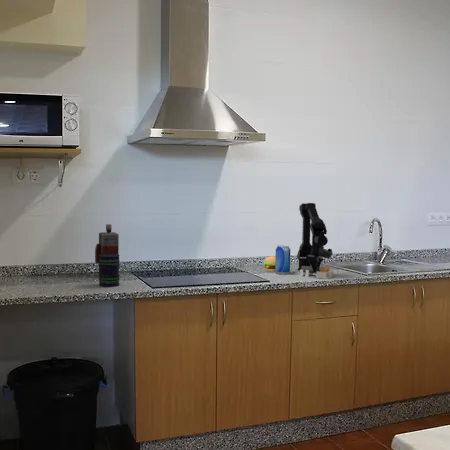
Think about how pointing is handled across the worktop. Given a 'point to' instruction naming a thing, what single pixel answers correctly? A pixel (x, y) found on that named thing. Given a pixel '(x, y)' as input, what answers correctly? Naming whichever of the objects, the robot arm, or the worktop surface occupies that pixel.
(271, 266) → the hamburger
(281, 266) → the beer can
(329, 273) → the cream arch-shaped block
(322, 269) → the stamp-like rod
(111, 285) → the storage jar
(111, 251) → the thermos flask
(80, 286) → the worktop surface
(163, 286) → the worktop surface
